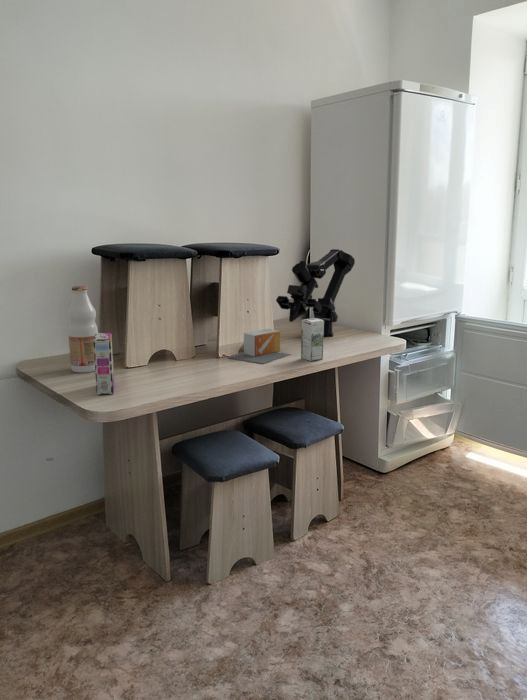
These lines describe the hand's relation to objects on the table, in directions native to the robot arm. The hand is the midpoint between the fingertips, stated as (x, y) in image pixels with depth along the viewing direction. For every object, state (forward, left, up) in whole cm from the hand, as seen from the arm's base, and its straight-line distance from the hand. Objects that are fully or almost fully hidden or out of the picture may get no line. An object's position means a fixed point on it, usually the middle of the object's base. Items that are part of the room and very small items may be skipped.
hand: (290, 321), depth 223 cm
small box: (+9, -5, -6) cm, 11 cm away
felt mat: (+18, -9, -10) cm, 23 cm away
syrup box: (+19, +10, -10) cm, 24 cm away
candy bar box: (+66, -47, -10) cm, 82 cm away
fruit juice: (+45, -64, -10) cm, 79 cm away
